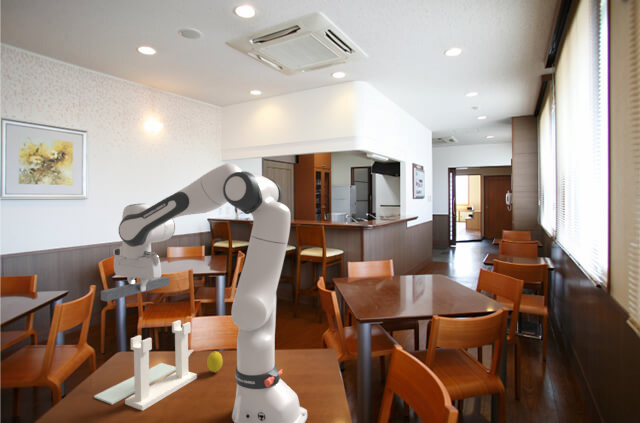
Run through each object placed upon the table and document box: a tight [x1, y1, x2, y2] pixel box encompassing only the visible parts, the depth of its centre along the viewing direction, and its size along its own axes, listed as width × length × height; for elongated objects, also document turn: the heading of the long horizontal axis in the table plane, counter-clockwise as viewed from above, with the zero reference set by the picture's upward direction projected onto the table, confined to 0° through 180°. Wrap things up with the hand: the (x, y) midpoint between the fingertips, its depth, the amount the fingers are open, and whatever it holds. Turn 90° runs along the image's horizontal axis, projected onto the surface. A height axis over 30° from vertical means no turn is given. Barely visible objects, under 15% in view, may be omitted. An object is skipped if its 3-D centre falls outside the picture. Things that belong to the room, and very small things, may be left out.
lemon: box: [206, 350, 224, 373], centre depth 132 cm, size 6×6×8 cm
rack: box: [124, 319, 198, 411], centre depth 119 cm, size 8×22×20 cm, turn 154°
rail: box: [100, 276, 170, 302], centre depth 124 cm, size 3×24×3 cm, turn 154°
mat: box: [93, 362, 176, 405], centre depth 125 cm, size 9×26×1 cm, turn 154°
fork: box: [188, 349, 194, 358], centre depth 142 cm, size 3×21×3 cm, turn 9°
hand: (137, 290), depth 124 cm, fingers closed on rail, 3 cm apart
